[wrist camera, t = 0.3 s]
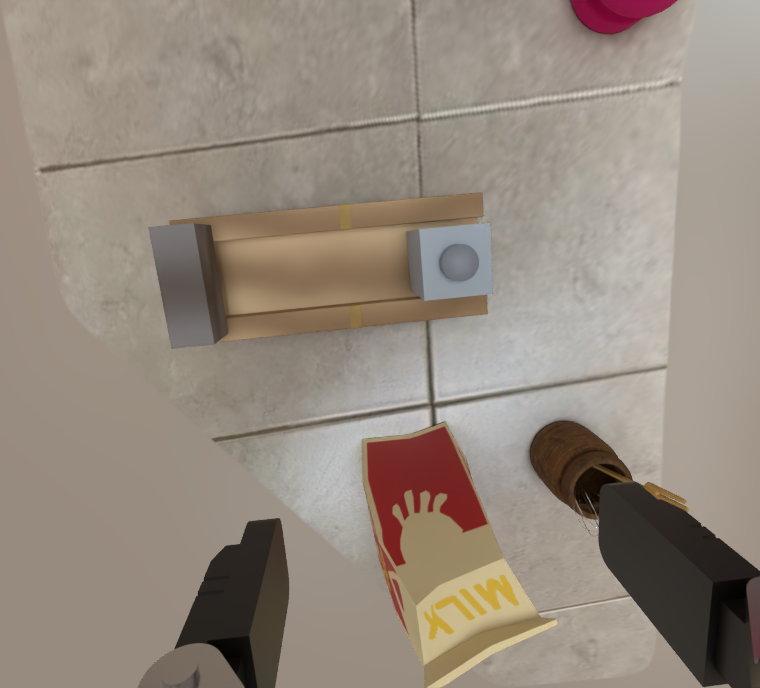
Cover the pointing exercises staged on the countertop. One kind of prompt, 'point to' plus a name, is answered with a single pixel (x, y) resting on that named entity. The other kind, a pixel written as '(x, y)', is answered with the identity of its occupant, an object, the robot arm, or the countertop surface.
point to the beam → (301, 269)
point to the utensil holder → (582, 468)
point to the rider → (450, 261)
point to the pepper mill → (616, 12)
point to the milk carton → (442, 554)
